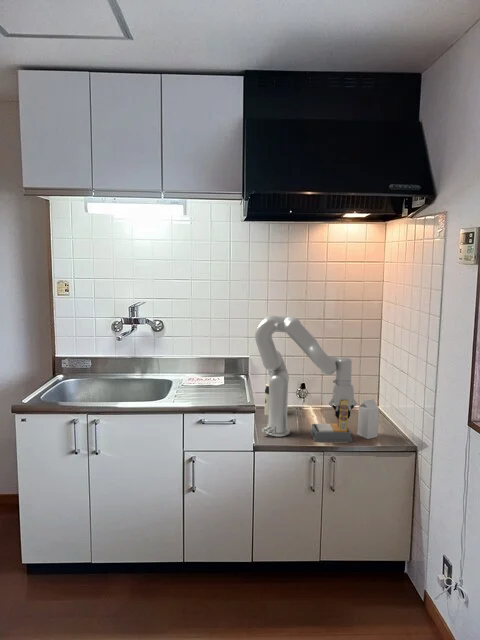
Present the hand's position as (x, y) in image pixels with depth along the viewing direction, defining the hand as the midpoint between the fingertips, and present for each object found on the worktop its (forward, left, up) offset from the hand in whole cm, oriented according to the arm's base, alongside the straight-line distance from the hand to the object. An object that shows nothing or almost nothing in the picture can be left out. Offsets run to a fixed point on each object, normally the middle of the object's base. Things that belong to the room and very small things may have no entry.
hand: (342, 417), depth 242 cm
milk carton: (+12, -7, -10) cm, 17 cm away
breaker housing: (-4, +4, -10) cm, 12 cm away
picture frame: (-4, +4, -6) cm, 8 cm away
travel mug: (-3, +48, -10) cm, 49 cm away
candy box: (0, 0, -6) cm, 6 cm away
